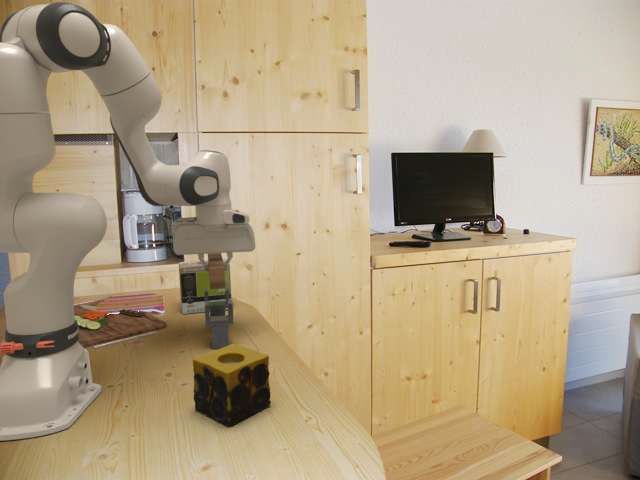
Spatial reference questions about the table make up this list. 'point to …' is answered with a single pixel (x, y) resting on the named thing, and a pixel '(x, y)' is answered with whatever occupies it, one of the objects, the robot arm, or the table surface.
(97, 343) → the chopping board
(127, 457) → the table surface
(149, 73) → the robot arm
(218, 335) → the bracket near
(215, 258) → the rail
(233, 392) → the yellow and black cube
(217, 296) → the tea box
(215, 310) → the bracket far
